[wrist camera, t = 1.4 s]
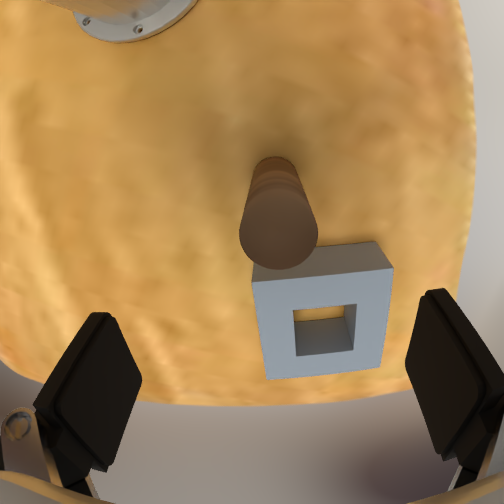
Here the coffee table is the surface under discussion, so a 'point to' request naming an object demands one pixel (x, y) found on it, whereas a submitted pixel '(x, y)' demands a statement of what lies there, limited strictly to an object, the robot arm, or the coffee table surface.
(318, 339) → the socket block
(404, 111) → the coffee table surface
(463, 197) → the coffee table surface
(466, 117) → the coffee table surface
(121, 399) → the robot arm
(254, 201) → the peg
